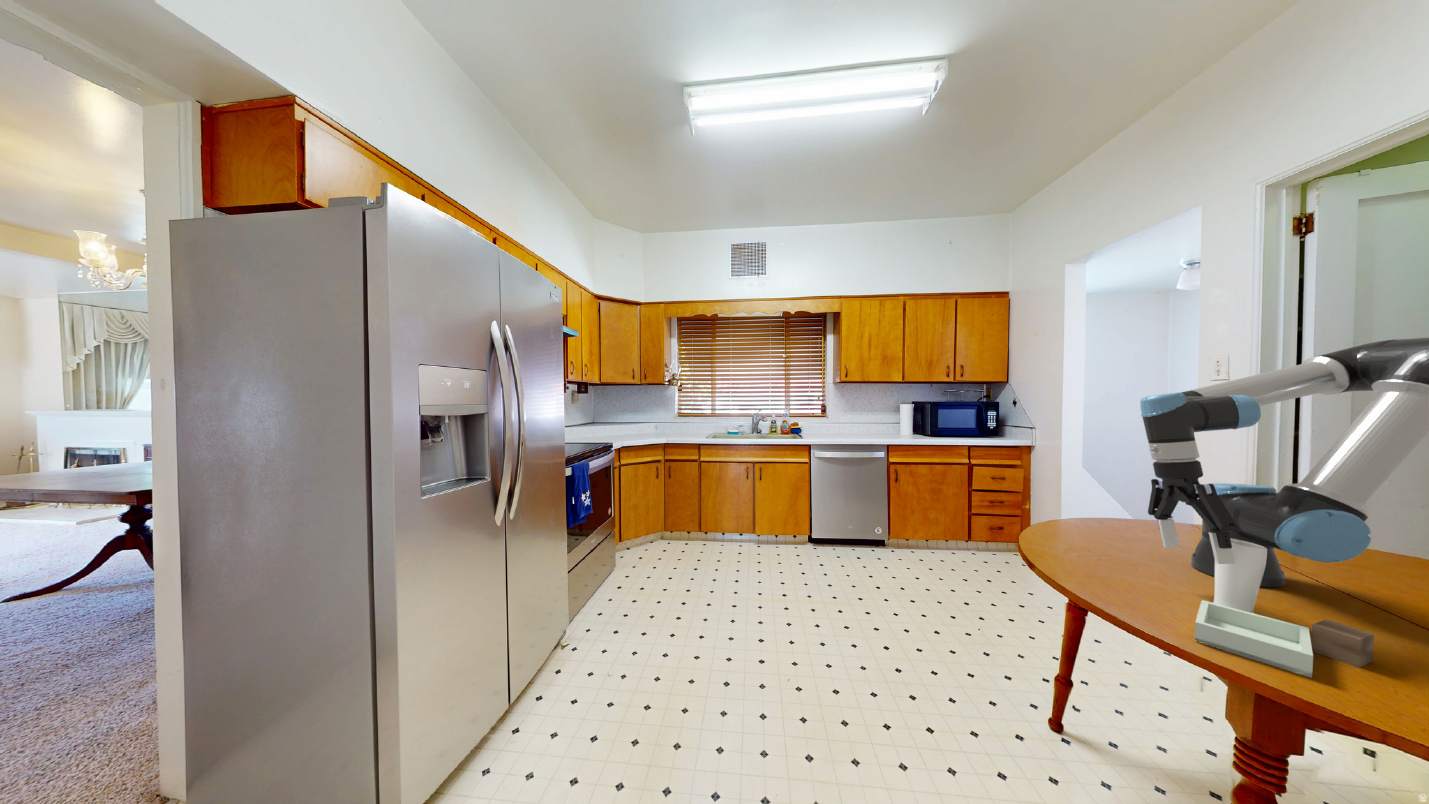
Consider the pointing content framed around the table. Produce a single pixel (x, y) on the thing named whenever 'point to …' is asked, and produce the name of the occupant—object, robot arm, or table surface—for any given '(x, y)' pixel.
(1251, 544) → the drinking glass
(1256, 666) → the table surface
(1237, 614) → the tray
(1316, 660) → the table surface
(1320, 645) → the walnut block
